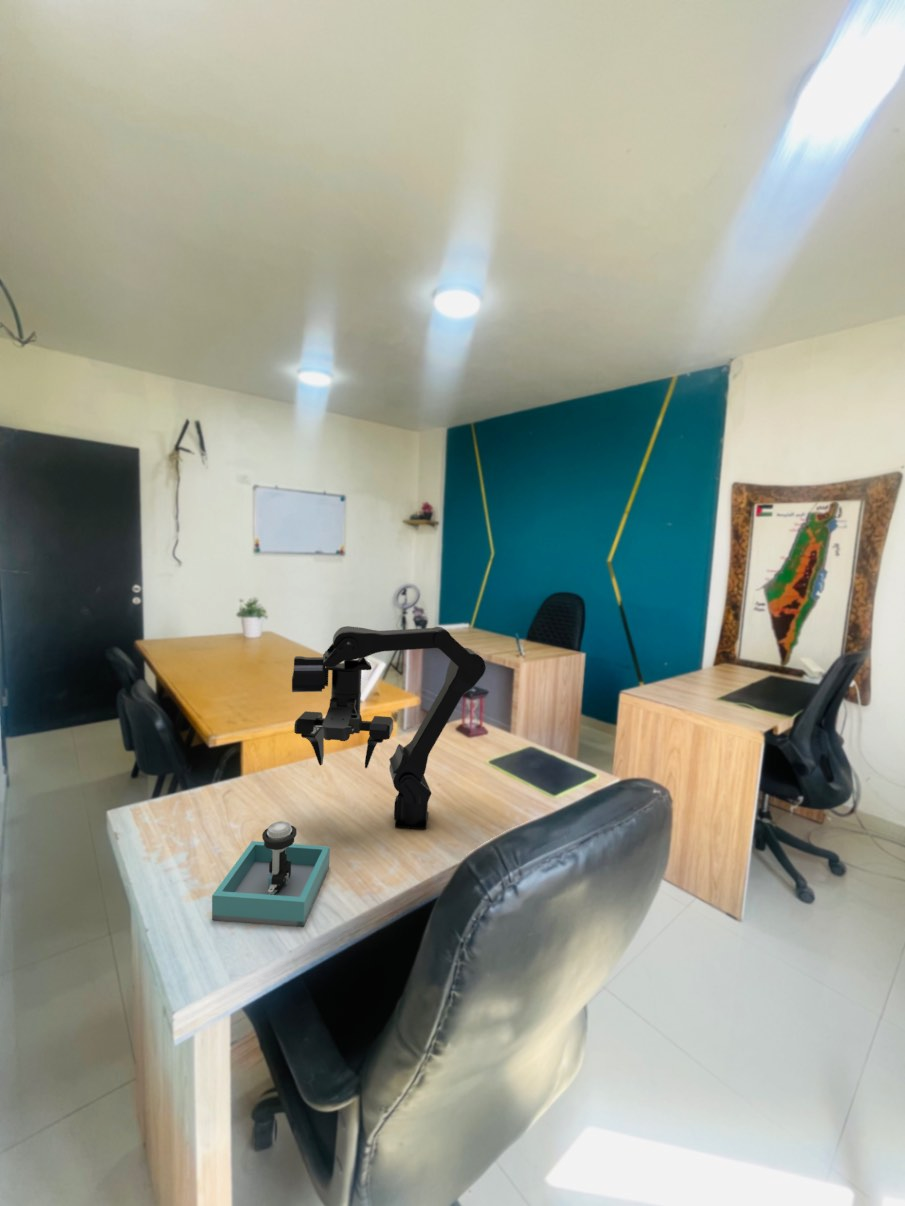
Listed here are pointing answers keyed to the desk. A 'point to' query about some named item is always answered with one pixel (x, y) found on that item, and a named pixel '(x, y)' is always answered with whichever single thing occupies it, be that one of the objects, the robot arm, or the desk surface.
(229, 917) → the tray
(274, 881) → the push button
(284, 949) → the desk surface
